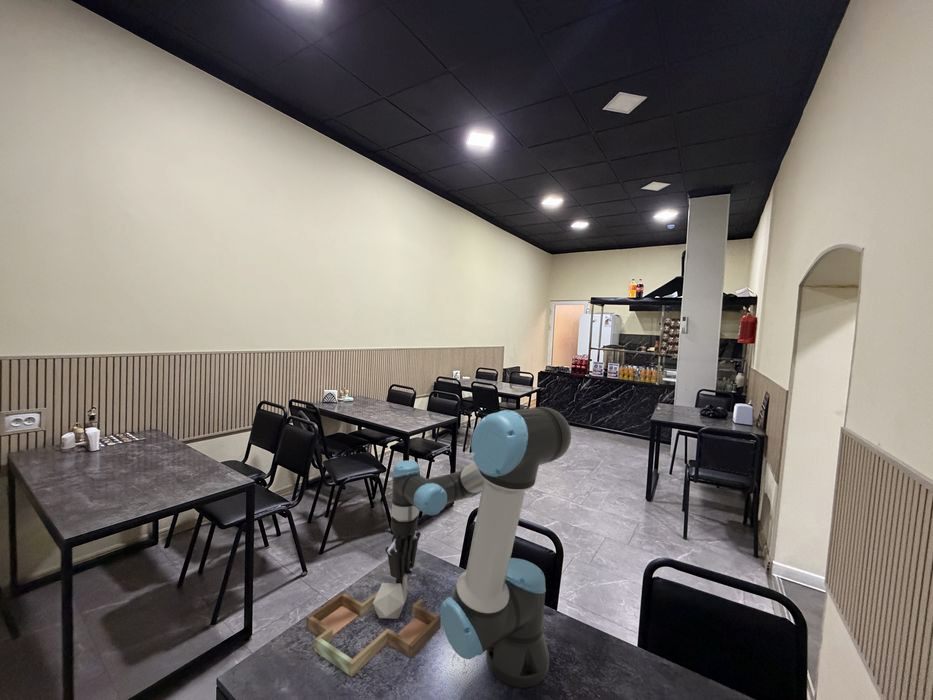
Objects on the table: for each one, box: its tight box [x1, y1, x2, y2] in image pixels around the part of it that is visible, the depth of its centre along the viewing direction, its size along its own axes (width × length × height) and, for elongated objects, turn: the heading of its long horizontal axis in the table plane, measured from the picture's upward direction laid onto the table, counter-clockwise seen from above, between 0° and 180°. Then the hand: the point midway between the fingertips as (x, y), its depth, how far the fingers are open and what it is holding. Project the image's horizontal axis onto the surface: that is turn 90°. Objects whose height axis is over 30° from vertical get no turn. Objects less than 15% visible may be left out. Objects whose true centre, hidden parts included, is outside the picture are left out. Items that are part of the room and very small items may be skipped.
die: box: [373, 582, 407, 620], centre depth 107 cm, size 8×9×10 cm
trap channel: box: [305, 591, 442, 678], centre depth 101 cm, size 29×26×3 cm
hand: (401, 596), depth 111 cm, fingers closed
